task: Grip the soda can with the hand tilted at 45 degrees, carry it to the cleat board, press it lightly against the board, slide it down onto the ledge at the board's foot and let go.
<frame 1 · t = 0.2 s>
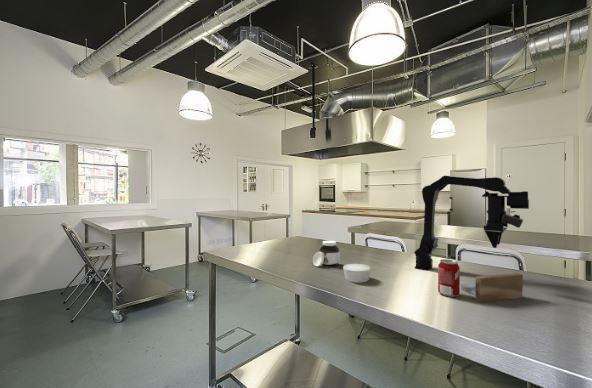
hand: (496, 246, 112), 15 cm above the table, tool pointing down, fingers open, 9 cm apart
spread jar: (326, 265, 136), on the table
ramekin: (356, 280, 115), on the table
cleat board: (486, 293, 99), on the table
soda can: (448, 295, 98), on the table
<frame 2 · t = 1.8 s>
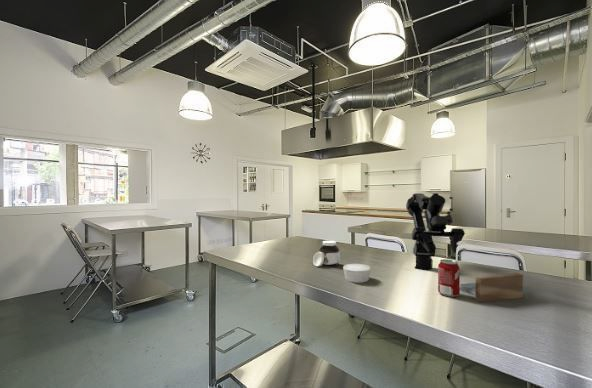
hand: (442, 252, 106), 13 cm above the table, tool tilted 45°, fingers open, 9 cm apart
nothing on the table moved.
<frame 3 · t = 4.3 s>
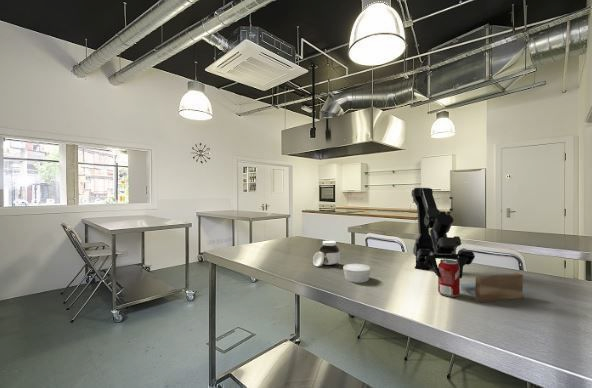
hand: (450, 277, 96), 7 cm above the table, tool tilted 45°, fingers closed on soda can, 7 cm apart
soda can: (448, 295, 98), on the table, touching gripper
everything else where it was.
when the fingers open (10 cm above the table, at t = 11.2 s): soda can stays where it is, resting on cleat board.
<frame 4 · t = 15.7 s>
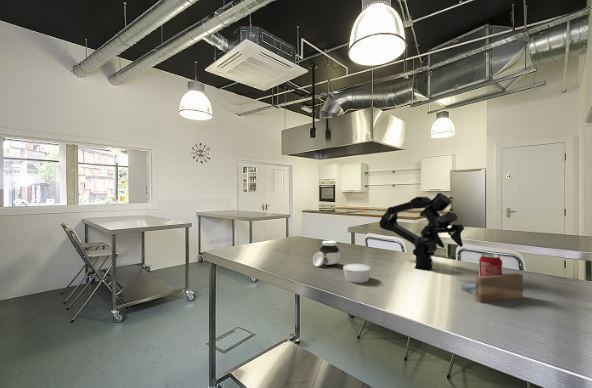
hand: (452, 246, 115), 14 cm above the table, tool tilted 45°, fingers open, 9 cm apart
soda can: (490, 288, 98), point 2 cm above the table, touching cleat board
everything else where it was.
at the end: soda can 1.3 cm from the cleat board (horizontally); soda can point 1.8 cm above the table; soda can tilted 0° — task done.
